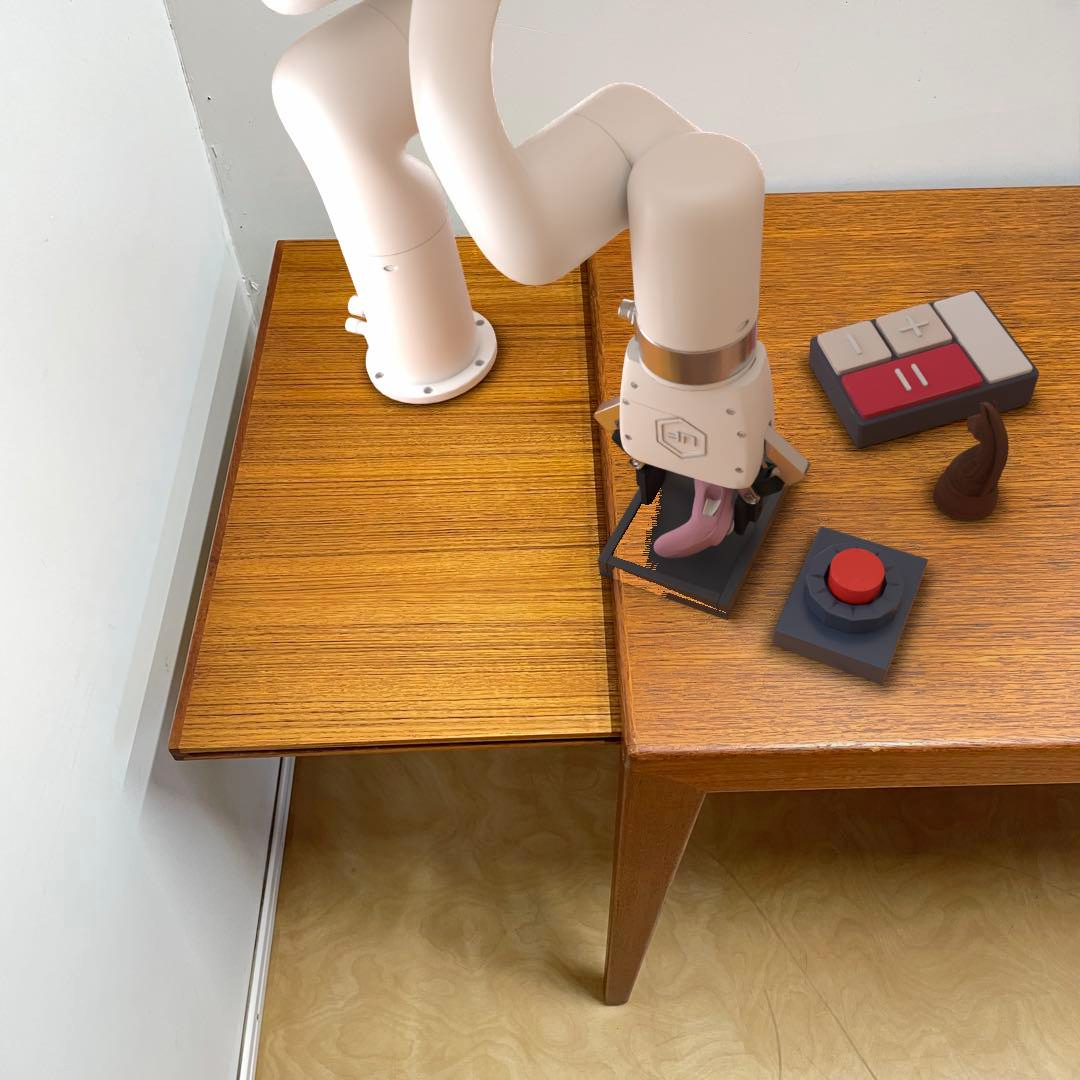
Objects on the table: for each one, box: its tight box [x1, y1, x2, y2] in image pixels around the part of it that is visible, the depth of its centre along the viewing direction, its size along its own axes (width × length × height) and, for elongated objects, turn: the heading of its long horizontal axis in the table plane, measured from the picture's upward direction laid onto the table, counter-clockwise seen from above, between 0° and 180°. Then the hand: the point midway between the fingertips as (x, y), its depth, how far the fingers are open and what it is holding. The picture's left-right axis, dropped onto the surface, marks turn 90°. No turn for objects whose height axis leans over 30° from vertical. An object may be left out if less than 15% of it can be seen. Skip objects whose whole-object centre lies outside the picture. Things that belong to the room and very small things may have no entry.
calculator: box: [808, 290, 1040, 449], centre depth 83 cm, size 11×4×15 cm
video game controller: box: [654, 472, 734, 558], centre depth 75 cm, size 10×5×7 cm, turn 168°
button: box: [828, 549, 885, 605], centre depth 69 cm, size 4×4×2 cm
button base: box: [772, 525, 929, 686], centre depth 71 cm, size 8×10×4 cm
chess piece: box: [932, 400, 1010, 522], centre depth 73 cm, size 5×5×10 cm
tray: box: [597, 454, 793, 621], centre depth 78 cm, size 11×15×2 cm
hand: (698, 504), depth 77 cm, fingers closed on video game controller, 7 cm apart
